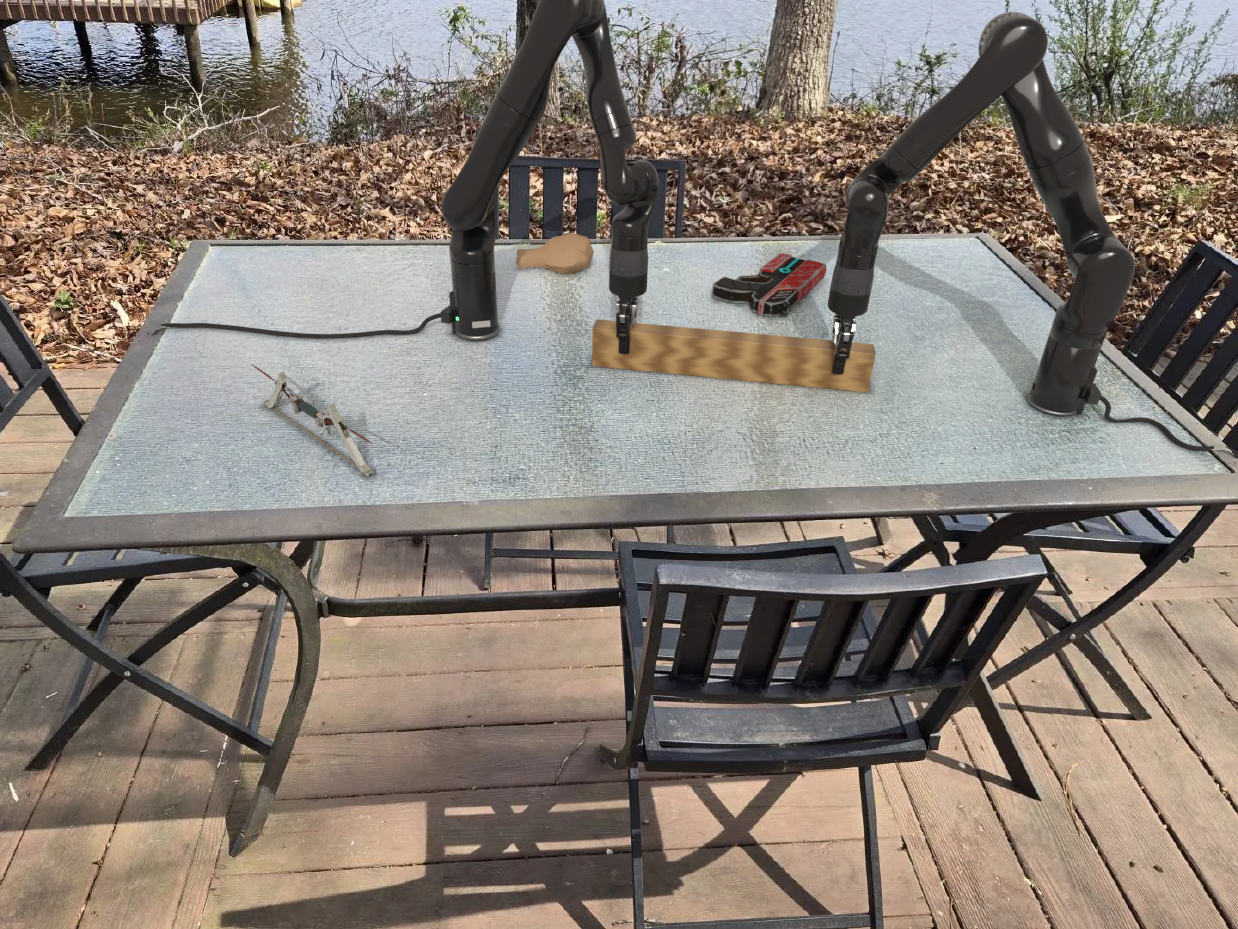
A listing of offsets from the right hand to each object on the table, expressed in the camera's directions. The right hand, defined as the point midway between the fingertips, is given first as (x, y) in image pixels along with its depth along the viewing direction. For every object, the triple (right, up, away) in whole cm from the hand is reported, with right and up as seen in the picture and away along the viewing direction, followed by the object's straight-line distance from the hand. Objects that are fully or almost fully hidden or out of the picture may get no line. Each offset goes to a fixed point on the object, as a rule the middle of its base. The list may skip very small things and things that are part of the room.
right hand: (836, 365), depth 175 cm
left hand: (-42, +4, +5) cm, 43 cm away
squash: (-60, +30, +50) cm, 84 cm away
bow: (-97, -15, -19) cm, 100 cm away
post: (-21, -1, +5) cm, 22 cm away
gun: (-6, +23, +42) cm, 48 cm away
